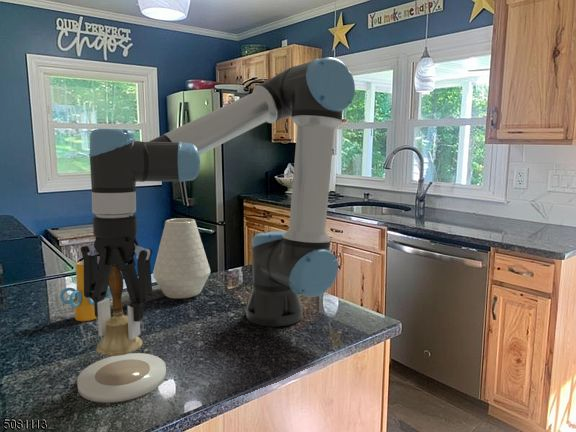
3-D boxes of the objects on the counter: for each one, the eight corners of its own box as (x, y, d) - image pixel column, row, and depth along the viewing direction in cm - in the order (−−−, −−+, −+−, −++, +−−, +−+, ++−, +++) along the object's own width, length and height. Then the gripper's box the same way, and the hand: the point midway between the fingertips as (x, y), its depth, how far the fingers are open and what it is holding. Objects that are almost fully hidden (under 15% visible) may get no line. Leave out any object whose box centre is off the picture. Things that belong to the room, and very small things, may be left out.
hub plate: (180, 364, 91) (180, 357, 90) (137, 408, 75) (136, 399, 75) (112, 356, 94) (111, 349, 94) (57, 395, 79) (57, 387, 78)
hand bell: (114, 360, 78) (111, 273, 76) (86, 349, 82) (82, 266, 80) (151, 344, 85) (149, 264, 83) (124, 334, 89) (121, 258, 87)
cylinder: (90, 328, 109) (86, 269, 107) (53, 324, 111) (49, 267, 109) (118, 311, 121) (115, 258, 119) (85, 308, 123) (81, 256, 121)
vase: (190, 281, 149) (189, 214, 146) (222, 293, 137) (220, 220, 134) (143, 292, 137) (140, 220, 133) (172, 306, 125) (170, 227, 121)
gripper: (171, 214, 82) (173, 332, 85) (84, 210, 86) (90, 322, 89) (149, 219, 74) (153, 348, 77) (56, 214, 78) (63, 337, 82)
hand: (119, 334), depth 83 cm, fingers closed on hand bell, 6 cm apart
